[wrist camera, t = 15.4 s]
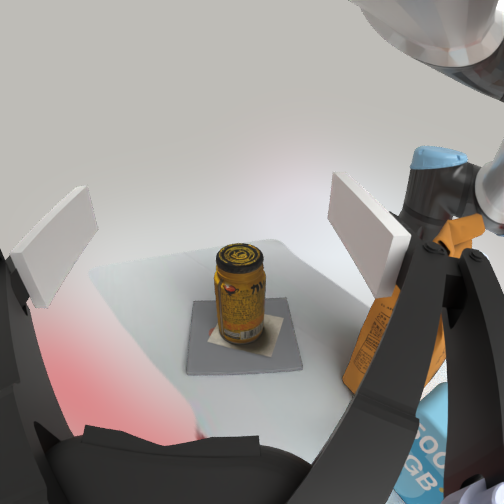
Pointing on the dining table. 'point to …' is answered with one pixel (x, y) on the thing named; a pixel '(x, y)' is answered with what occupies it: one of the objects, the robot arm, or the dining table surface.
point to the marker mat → (237, 361)
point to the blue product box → (427, 452)
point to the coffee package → (453, 241)
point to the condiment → (243, 302)
